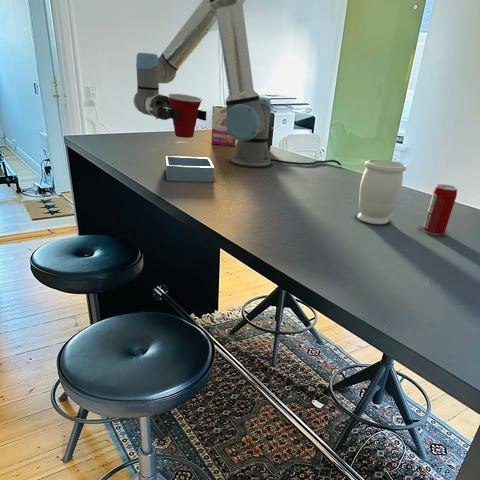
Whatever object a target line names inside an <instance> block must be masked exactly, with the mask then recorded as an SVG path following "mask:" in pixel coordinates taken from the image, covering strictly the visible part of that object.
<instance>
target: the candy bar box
mask: <svg viewBox="0 0 480 480" xmlns="http://www.w3.org/2000/svg"><path fill="white" fill-rule="evenodd" d="M226 114H227V107H226V105H219V104H214V105H212V119H211V145H215V146H216V145H217V146H226V147H235V146H236V143H237V139H235V138H233V137H232V136H231V135H230V134H229V133H228V131H227V129H226V125H225V118H226Z"/></svg>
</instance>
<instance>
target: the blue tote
mask: <svg viewBox="0 0 480 480" xmlns="http://www.w3.org/2000/svg"><path fill="white" fill-rule="evenodd" d="M165 176H166V181H168V182H169V181H171V182H196V183H197V182H198V183H200V182H201V183H214V181H215V166H214V165H213V163H212V161H211V159H210V157H193V156H171V155H170V156H169V155H165Z"/></svg>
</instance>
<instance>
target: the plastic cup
mask: <svg viewBox="0 0 480 480" xmlns="http://www.w3.org/2000/svg"><path fill="white" fill-rule="evenodd" d="M167 96H168V97H169V99H170V105H171V109H174V110H178V111H180V121H177V120H174V119H172V123H173V124H172V125H173V129H174V134H175V137H177V138H185V139H189V138H191V139H192V138H193V137H194V135H195V130H196V125H197V120H198V119H197V115H198V110H199V108H200V106H201V104H202V101H203V100H204V99H202V98H201V97H198V96H194V95H189V94H183V93H168V94H167Z"/></svg>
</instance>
